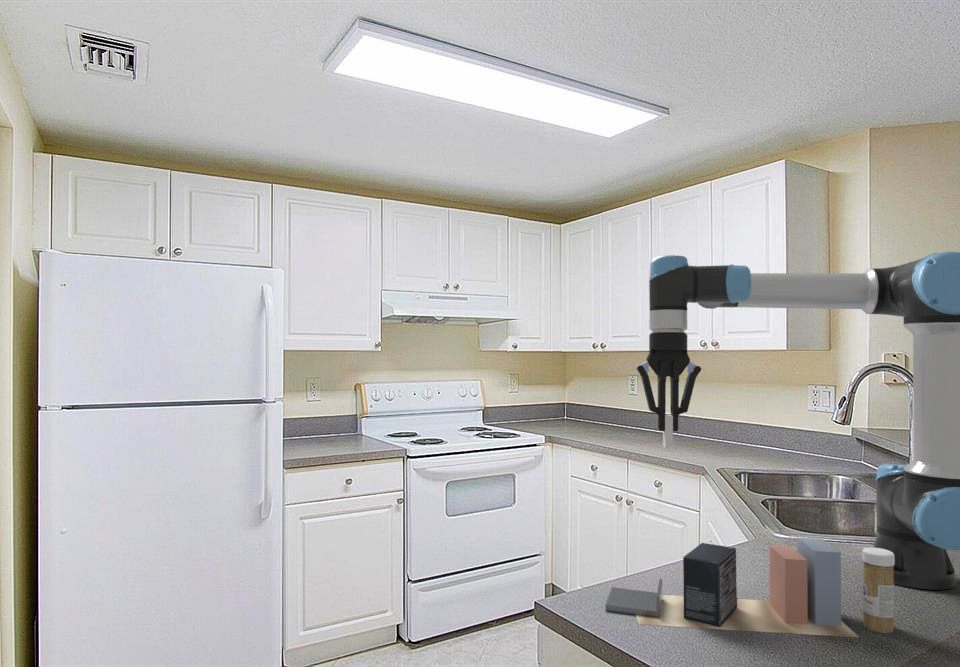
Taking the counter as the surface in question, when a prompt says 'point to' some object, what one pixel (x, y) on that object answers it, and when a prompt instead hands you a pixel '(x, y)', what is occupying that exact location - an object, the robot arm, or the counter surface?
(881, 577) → the sprinkles bottle
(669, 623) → the shelf board
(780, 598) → the book
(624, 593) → the bookend
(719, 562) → the small box
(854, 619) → the counter surface
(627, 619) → the counter surface
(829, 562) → the book
